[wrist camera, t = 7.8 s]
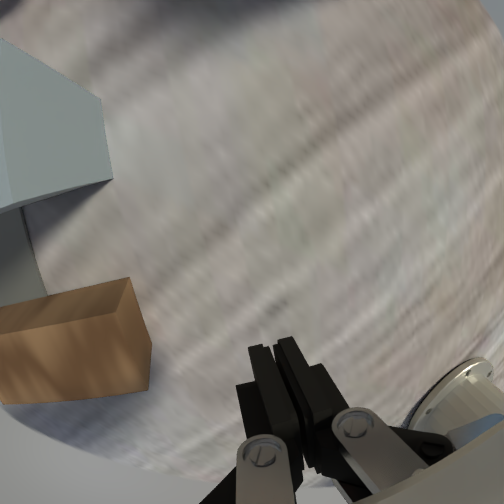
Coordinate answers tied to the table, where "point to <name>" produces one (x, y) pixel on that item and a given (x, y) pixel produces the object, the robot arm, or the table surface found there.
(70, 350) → the walnut block
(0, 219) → the felt mat
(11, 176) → the slate block
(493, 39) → the table surface
